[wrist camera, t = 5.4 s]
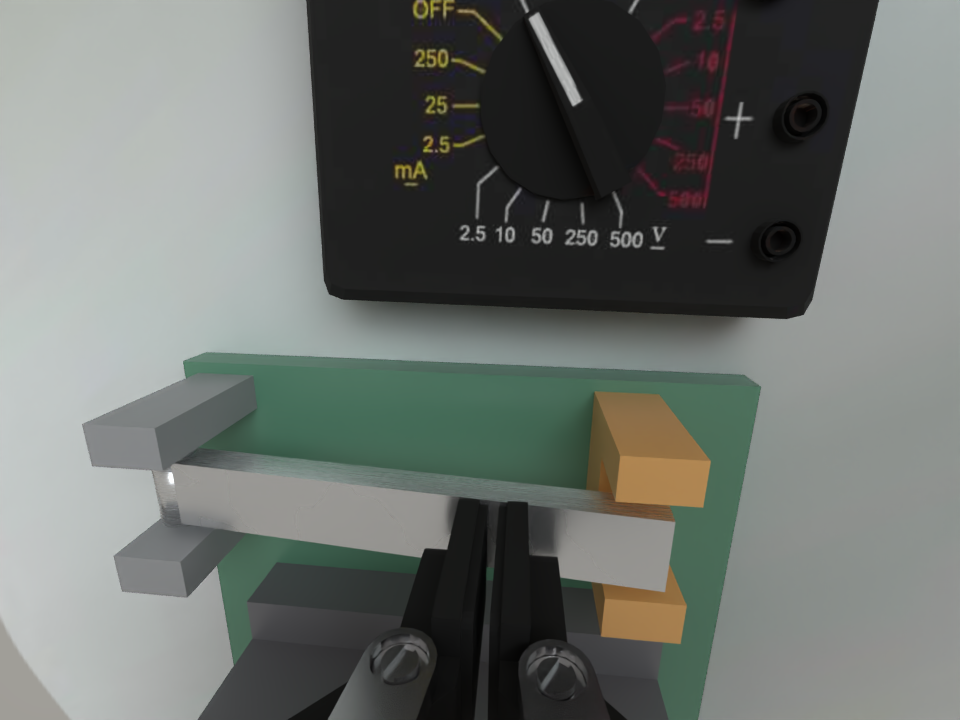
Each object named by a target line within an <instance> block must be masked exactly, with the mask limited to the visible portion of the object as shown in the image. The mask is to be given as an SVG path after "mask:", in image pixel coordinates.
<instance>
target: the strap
mask: <svg viewBox="0 0 960 720" xmlns="http://www.w3.org/2000/svg"><path fill="white" fill-rule="evenodd" d="M152 473H153V478H154V483H155V488H156V493H157V498H158V503H159V508H160V513H161V518H162V523H163V525H164V526H166V527H172V528H176V527H183V526H187V525H194V526H201V527H208V528H215V529H222V530H229V531H236V532H243V533H250V534H257V535H264V536H271V537H278V538H286V539H293V540H300V541H307V542H314V543H321V544H328V545H335V546H342V547H349V548H356V549H363V550H370V551H377V552H384V553H391V554H398V555H406V556H413V557H420V558H421V557H422V554H423V552H424V549H425V548H432V549H447V547H448V543H449V539H450V535H451V530H452V526H453V522H454V518H455V513H456V509H457V505H458V501H459V498H466V499H480V505H487V506H488V515H487V567H490V568H494V562H495V550H496V538H497V525H498V513H499V506H507V501H519V502H528V524H529V555H538V556H553V557H558V562H559V571H560V577H561V578H568V579H575V580H582V581H589V582H596V583H603V584H610V585H617V586H624V587H632V588H639V589H646V590H653V591H660V592H665V589H666V582H667V576H668V569H669V562H670V556H671V549H672V542H673V535H674V529H675V519H674V517H673V514H672V511H671V508H670V505H657V504H642V503H628V502H615V499H614V496H613V493H610V492H600V491H591V490H582V489H573V488H564V487H554V486H545V485H536V484H527V483H518V482H508V481H499V480H490V479H481V478H472V477H462V476H453V475H444V474H435V473H426V472H417V471H407V470H398V469H389V468H380V467H371V466H361V465H352V464H343V463H334V462H325V461H315V460H306V459H297V458H288V457H279V456H270V455H260V454H251V453H242V452H233V451H224V450H214V449H205V448H197V449H195V450H194V451H192V452H191V453H189V454H188V455H186V456H185V457H183V458H182V459H180V460H179V461H177V462H176V463H174V464H173V465H171V466H170V467H168V468H167V469H165V470H164V471H155V470H152Z"/></svg>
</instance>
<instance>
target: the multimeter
mask: <svg viewBox="0 0 960 720" xmlns="http://www.w3.org/2000/svg"><path fill="white" fill-rule="evenodd" d="M306 1H307V17H308V33H309V49H310V65H311V81H312V97H313V113H314V129H315V145H316V161H317V177H318V193H319V209H320V225H321V241H322V257H323V273H324V282H325V284H326V287H327V290H328V292H329V294H330V295H332V296H335V297H338V298H340V299H344V300H367V301H389V302H412V303H435V304H457V305H480V306H503V307H525V308H548V309H571V310H593V311H616V312H639V313H662V314H684V315H707V316H730V317H752V318H775V319H789V318H793V317H797V316H801V315H804V313H805V311H806V310H807V308H808V306H809V304H810V303H811V301H812V298H813V294H814V289H815V285H816V280H817V276H818V271H819V267H820V262H821V258H822V253H823V249H824V244H825V240H826V236H827V231H828V227H829V222H830V218H831V213H832V209H833V204H834V200H835V195H836V191H837V186H838V182H839V177H840V173H841V168H842V164H843V159H844V155H845V151H846V146H847V142H848V137H849V133H850V128H851V124H852V119H853V115H854V110H855V106H856V101H857V97H858V92H859V88H860V83H861V79H862V74H863V70H864V65H865V61H866V57H867V52H868V48H869V43H870V39H871V34H872V30H873V25H874V21H875V16H876V12H877V7H878V3H879V0H306Z"/></svg>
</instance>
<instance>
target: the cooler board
mask: <svg viewBox="0 0 960 720" xmlns="http://www.w3.org/2000/svg"><path fill="white" fill-rule="evenodd" d="M183 364H184V370H185V376H186V379H184V380H181V381H179V382H177V383H174V384H172V385H170V386H168V387H165V388H163V389H161V390H159V391H156V392H154V393H152V394H150V395H147V396H145V397H143V398H140V399H138V400H136V401H134V402H131V403H129V404H127V405H125V406H122V407H120V408H118V409H115V410H113V411H111V412H109V413H106V414H104V415H102V416H100V417H97V418H95V419H93V420H91V421H88V422H86V423H84V424H82V426H83V430H84V434H85V438H86V442H87V447H88V451H89V455H90V459H91V463H92V466H96V467H111V468H126V469H141V470H155V471H164V470H165V469H167V468H168V467H170V466H171V465H173V464H174V463H176V462H177V461H179V460H180V459H182V458H183V457H185V456H186V455H188V454H189V453H191V452H192V451H194V450H195V449H197V448H205V449H214V450H224V451H233V452H242V453H251V454H260V455H270V456H279V457H288V458H297V459H306V460H315V461H325V462H334V463H343V464H352V465H361V466H371V467H380V468H389V469H398V470H407V471H417V472H426V473H435V474H444V475H453V476H462V477H472V478H481V479H490V480H499V481H508V482H518V483H527V484H536V485H545V486H554V487H564V488H573V489H582V490H591V491H600V492H610V493H613V496H614V499H615V502H628V503H642V504H657V505H670V508H671V511H672V514H673V517H674V519H675V529H674V535H673V542H672V549H671V556H670V562H669V569H668V576H667V582H666V589H665V592H660V591H653V590H646V589H639V588H632V587H624V586H617V585H610V584H603V583H596V582H589V581H582V580H575V579H568V578H561V577H560V580H561V589H562V598H563V607H564V616H565V625H566V634H567V643H570V644H572V645H574V646H575V647H577V648H578V649H580V650H581V651H582V652H583V653H584V654H585V655H586V656H587V657H588V659H589V660H590V662H591V664H592V666H593V668H594V670H595V673H596V676H597V679H598V682H599V685H600V689H601V692H602V695H603V698H604V699H605V700H606V701H607V702H608V703H609V704H610V705H611V706H613V707H614V708H615V709H616V710H617V711H618V712H619V713H620V714H622V715H623V716H624V717H625V718H626V719H627V720H698V716H699V711H700V706H701V700H702V695H703V690H704V684H705V679H706V674H707V669H708V663H709V658H710V653H711V648H712V642H713V637H714V632H715V627H716V621H717V616H718V611H719V605H720V600H721V595H722V590H723V584H724V579H725V574H726V569H727V563H728V558H729V553H730V547H731V542H732V537H733V532H734V526H735V521H736V516H737V511H738V505H739V500H740V495H741V490H742V484H743V479H744V474H745V468H746V463H747V458H748V453H749V447H750V442H751V437H752V432H753V426H754V421H755V416H756V410H757V405H758V400H759V395H760V389H761V386H759V385H758V384H756V383H755V382H753V381H752V380H750V379H749V378H747V377H746V376H745V375H733V374H709V373H685V372H661V371H637V370H614V369H590V368H566V367H542V366H518V365H495V364H471V363H447V362H423V361H399V360H376V359H352V358H328V357H304V356H280V355H257V354H233V353H209V352H206V353H203V354H201V355H198V356H195V357H193V358H190V359H188V360H185V361H183ZM114 560H115V564H116V568H117V572H118V577H119V581H120V585H121V589H122V591H123V592H134V593H144V594H155V595H165V596H176V597H188V596H189V595H190V594H191V593H192V592H193V591H194V590H195V589H196V588H197V586H198V585H199V584H200V583H201V582H202V581H203V580H204V579H205V578H206V577H207V576H208V575H209V573H210V572H211V571H212V570H213V569H214V568H215V567H216V566H217V567H218V573H219V579H220V585H221V591H222V597H223V603H224V609H225V615H226V621H227V627H228V633H229V639H230V645H231V651H232V657H233V663H234V667H233V668H232V670H231V671H230V673H229V674H228V676H227V677H226V679H225V680H224V681H223V683H222V684H221V686H220V687H219V689H218V690H217V692H216V693H215V695H214V696H213V698H212V699H211V701H210V702H209V704H208V705H207V707H206V708H205V710H204V711H203V713H202V714H201V716H200V717H199V719H198V720H288V719H289V718H291V717H292V716H294V715H296V714H297V713H299V712H300V711H302V710H304V709H305V708H307V707H308V706H310V705H312V704H313V703H315V702H316V701H318V700H319V699H321V698H323V697H324V696H326V695H327V694H329V693H331V692H332V691H334V690H335V689H337V688H339V687H340V686H342V685H343V684H345V683H347V682H348V681H349V679H350V677H351V676H352V674H353V672H354V670H355V668H356V666H357V664H358V663H359V661H360V659H361V657H362V655H363V653H364V651H365V650H366V649H367V647H368V646H369V644H370V643H371V642H372V641H373V640H374V639H375V638H377V637H378V636H379V635H380V634H382V633H385V632H387V631H389V630H391V629H397V628H400V626H401V622H402V619H403V616H404V613H405V609H406V606H407V603H408V600H409V596H410V593H411V590H412V587H413V583H414V580H415V577H416V574H417V570H418V567H419V564H420V561H421V558H420V557H413V556H406V555H398V554H391V553H384V552H377V551H370V550H363V549H356V548H349V547H342V546H335V545H328V544H321V543H314V542H307V541H300V540H293V539H286V538H278V537H271V536H264V535H257V534H250V533H243V532H236V531H229V530H222V529H215V528H208V527H201V526H194V525H187V526H183V527H176V528H172V527H166V526H164V525H163V523H162V518H161V519H160V520H159V521H157V522H156V523H155V524H153V525H152V526H151V527H150V528H148V529H147V530H146V531H145V532H143V533H142V534H141V535H140V536H138V537H137V538H136V539H135V540H133V541H132V542H131V543H129V544H128V545H127V546H126V547H124V548H123V549H122V550H121V551H119V552H118V553H117V554H116V555H114ZM493 574H494V568H490V567H487V572H486V603H485V614H484V625H483V635H482V645H481V656H480V666H479V676H478V687H477V697H476V707H475V718H474V720H488V672H489V628H490V610H491V598H492V586H493Z"/></svg>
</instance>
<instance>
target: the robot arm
mask: <svg viewBox="0 0 960 720" xmlns="http://www.w3.org/2000/svg"><path fill="white" fill-rule="evenodd" d="M487 515H488V506H487V505H480V499H466V498H459V501H458V505H457V509H456V513H455V518H454V522H453V526H452V530H451V535H450V539H449V543H448V547H447V549H432V548H425V549H424V552H423V554H422V557H421V561H420V564H419V567H418V570H417V574H416V577H415V580H414V583H413V587H412V590H411V593H410V596H409V600H408V603H407V606H406V609H405V613H404V616H403V619H402V622H401V626H400V628H397V629H391V630H389V631H387V632H385V633H382V634H380V635H379V636H378V637H377V638H375V639H374V640H373V641H372V642H371V643H370V644H369V646H368V647H367V649H366V650H365V651H364V653H363V655H362V657H361V659H360V661H359V663H358V664H357V666H356V668H355V670H354V672H353V674H352V676H351V677H350V679H349V681H348V682H347V683H345V684H343V685H342V686H340V687H339V688H337V689H335V690H334V691H332V692H331V693H329V694H327V695H326V696H324V697H323V698H321V699H319V700H318V701H316V702H315V703H313V704H312V705H310V706H308V707H307V708H305V709H304V710H302V711H300V712H299V713H297V714H296V715H294V716H292V717H291V718H289V719H288V720H474V718H475V707H476V697H477V687H478V676H479V666H480V656H481V645H482V635H483V625H484V614H485V603H486V572H487ZM488 720H627V719H626V718H625V717H624V716H623V715H622V714H620V713H619V712H618V711H617V710H616V709H615V708H614V707H613V706H611V705H610V704H609V703H608V702H607V701H606V700H605V699H604V698H603V695H602V692H601V689H600V685H599V682H598V679H597V676H596V673H595V670H594V668H593V666H592V664H591V662H590V660H589V659H588V657H587V656H586V655H585V654H584V653H583V652H582V651H581V650H580V649H578V648H577V647H575V646H574V645H572V644H570V643H567V634H566V625H565V616H564V607H563V598H562V589H561V580H560V571H559V562H558V557H553V556H538V555H529V524H528V502H519V501H507V506H499V513H498V525H497V538H496V550H495V562H494V574H493V586H492V598H491V610H490V628H489V672H488Z"/></svg>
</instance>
